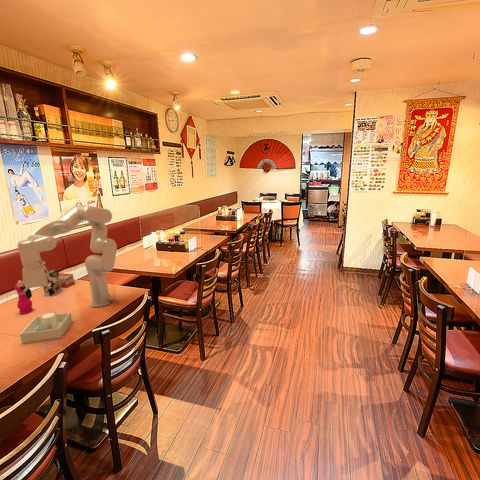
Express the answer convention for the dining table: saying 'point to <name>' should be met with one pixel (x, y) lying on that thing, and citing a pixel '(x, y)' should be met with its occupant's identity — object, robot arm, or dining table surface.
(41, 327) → the cube
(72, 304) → the dining table surface
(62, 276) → the medicine box
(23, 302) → the pepper mill
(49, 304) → the dining table surface
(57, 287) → the coffee box
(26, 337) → the tote
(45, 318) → the shot glass
